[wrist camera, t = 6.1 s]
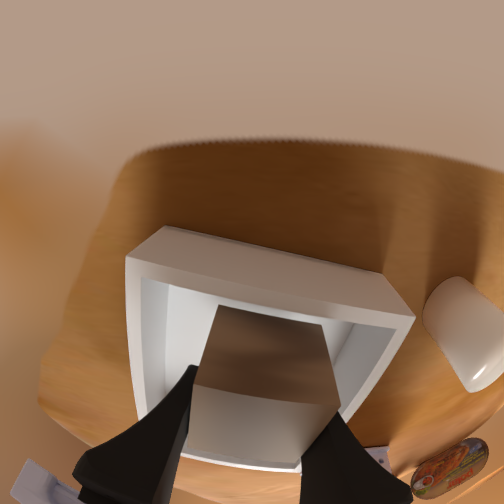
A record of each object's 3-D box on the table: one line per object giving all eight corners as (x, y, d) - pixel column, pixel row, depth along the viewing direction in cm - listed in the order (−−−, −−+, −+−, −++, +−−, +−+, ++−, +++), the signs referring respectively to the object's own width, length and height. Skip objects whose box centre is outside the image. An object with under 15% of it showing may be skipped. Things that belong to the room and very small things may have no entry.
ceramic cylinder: (479, 282, 15) (531, 329, 9) (452, 334, 17) (491, 388, 11) (440, 270, 15) (499, 325, 9) (411, 330, 17) (451, 395, 11)
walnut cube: (321, 324, 12) (341, 405, 8) (291, 390, 14) (294, 463, 10) (218, 304, 12) (193, 383, 8) (206, 374, 14) (187, 447, 9)
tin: (480, 428, 25) (495, 461, 17) (477, 435, 26) (491, 466, 18) (405, 469, 28) (415, 506, 20) (406, 473, 29) (415, 508, 21)
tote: (382, 273, 16) (416, 317, 11) (298, 430, 22) (300, 472, 17) (165, 225, 15) (125, 255, 11) (159, 404, 22) (144, 444, 17)
